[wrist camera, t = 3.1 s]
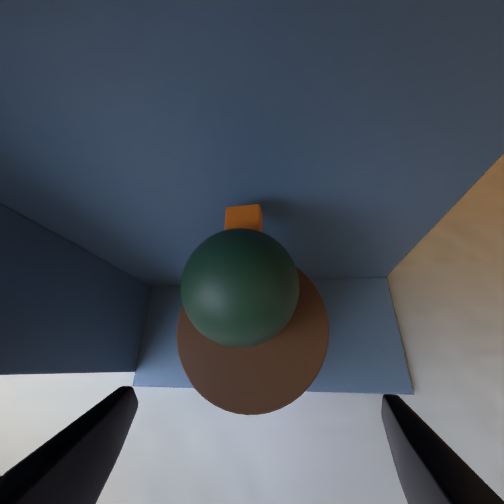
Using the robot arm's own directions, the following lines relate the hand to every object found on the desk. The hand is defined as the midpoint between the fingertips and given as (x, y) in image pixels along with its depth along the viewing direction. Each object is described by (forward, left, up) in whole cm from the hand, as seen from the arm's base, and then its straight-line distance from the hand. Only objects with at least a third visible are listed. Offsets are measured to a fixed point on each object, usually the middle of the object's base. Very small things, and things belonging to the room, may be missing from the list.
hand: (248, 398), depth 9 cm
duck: (+1, -2, -10) cm, 10 cm away
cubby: (+4, -2, -10) cm, 11 cm away
